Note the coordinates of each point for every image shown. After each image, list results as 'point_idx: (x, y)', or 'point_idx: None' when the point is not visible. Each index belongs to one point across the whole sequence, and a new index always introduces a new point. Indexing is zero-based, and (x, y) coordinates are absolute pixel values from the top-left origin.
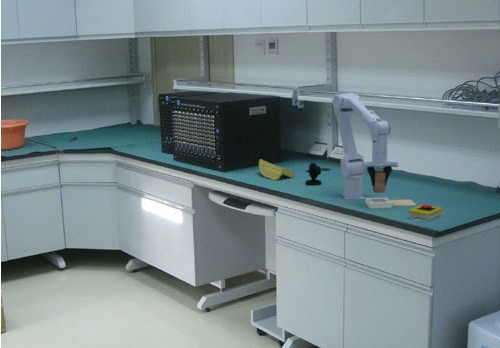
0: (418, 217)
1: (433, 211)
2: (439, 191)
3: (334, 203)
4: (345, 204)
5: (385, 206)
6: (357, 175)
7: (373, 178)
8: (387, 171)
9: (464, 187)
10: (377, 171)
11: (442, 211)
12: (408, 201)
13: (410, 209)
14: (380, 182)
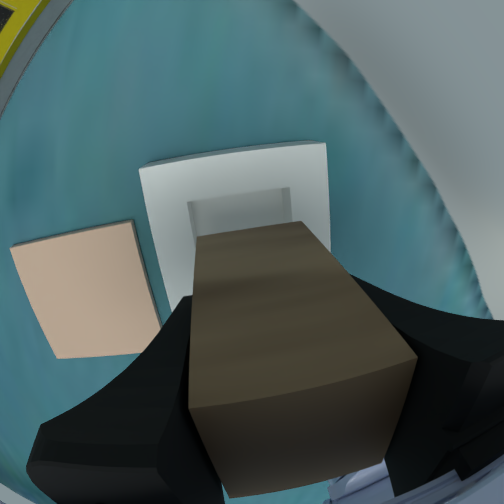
0: None
1: None
2: (13, 446)
3: (451, 283)
4: (416, 269)
5: (198, 155)
6: (379, 474)
7: (389, 304)
8: (135, 421)
9: None
10: (332, 459)
11: None
12: (58, 322)
13: None
14: (265, 281)
